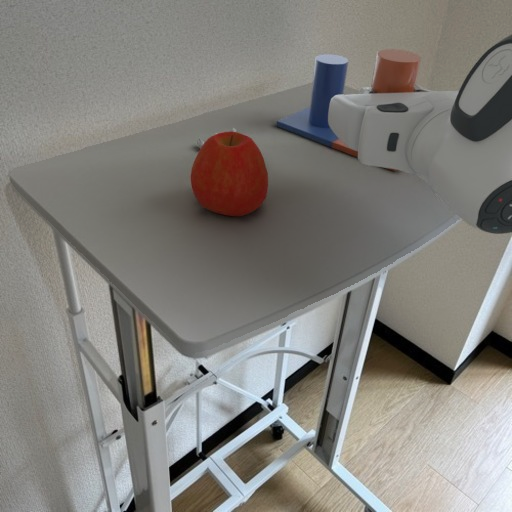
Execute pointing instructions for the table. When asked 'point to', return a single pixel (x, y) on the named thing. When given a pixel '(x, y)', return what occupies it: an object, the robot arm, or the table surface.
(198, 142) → the game pieces
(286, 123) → the board
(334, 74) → the blue canister
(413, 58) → the terracotta canister
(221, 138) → the apple
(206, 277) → the table surface
